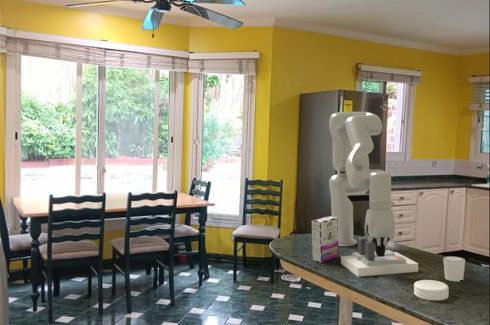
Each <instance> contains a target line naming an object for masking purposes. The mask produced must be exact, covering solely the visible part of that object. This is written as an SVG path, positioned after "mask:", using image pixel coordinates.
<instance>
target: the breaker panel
mask: <svg viewBox="0 0 490 325" xmlns="http://www.w3.org/2000/svg"><path fill="white" fill-rule="evenodd" d="M364 237H365V236H363V237H357V252H352V254H351V255H341V256H340V264H341V265H342V267H344V268H346V269H347V270H349V271H350V272H351V273H352V274H354V275H355V276H357V277H369V276H380V275H394V274H405V273H406V274H407V273H418V272H419V263H418V262H416V261H414V260H413V259H410V258H409V257H407V256H405V255H402V254H401V253H399V252H396V251H395V252H394V251H391V250H390V249H385V254H384V257H379V256H378V255H376V250H375V260H367V259H366V258H365V242H367V240H366V238H364Z"/></svg>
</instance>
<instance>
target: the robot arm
mask: <svg viewBox="0 0 490 325" xmlns="http://www.w3.org/2000/svg"><path fill="white" fill-rule="evenodd" d="M328 121H329V122H328V125H329V127H328V128H329V131H330V134H331V138H332V166H333V169H334V170H335V171H338V172H345V173H337V174H334V175H332V176H330V178H329V181H328V185H329V186H328V187H329V192H330V201H331V202H330V203H331V217H337V218H338V247H353V246H355V245H358V240H356V239H355V238H354V205H353V202H352V201H351V200H350V199H349V197H348V196H351V195H353V196H354V195H364V194H366V193H367V192H369V193H368V194H369V196H368V197H369V198H368V199H369V200H368V201H369V202H368V204H369V206H368V207H369V209H367V210H366V214H365V219H364V221H365V222H364V236H365V235H367V236H366V240H368V241H372V242H373V243H375V245H376V250H375V251H376V255H378V256H379V257H384V254H385V250H386V246H387V245H388V242H389V241H392V240H394V239H395V237H396V236H395V235H396V223H395V222H396V221H395V215H394V214H395V213H394V210H393V209H392V207H393V206H395V202H394V201H392V175H391V173H390V172H388V171H384V170H382V169H378V168H377V169H376V168H375V169H370V158H369V154H370V153H372V151H373V150H374V147H375V146H374V142H373V139H372V136H379V135H380V134H381V133H382V130H383V123H382V120H381V118H380V117H379V116H378V115H377V114H375V113H373V112H370V111H340V112H339V111H338V112H335V113H332V114H331V115H330V117H329V120H328Z"/></svg>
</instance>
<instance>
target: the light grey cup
mask: <svg viewBox="0 0 490 325" xmlns="http://www.w3.org/2000/svg"><path fill="white" fill-rule="evenodd" d="M442 259H443V268H444V269H443V271H444V278H445V280H446V281H447V280H448V281H449V282H450V281H451V282H461V281H460V280H464V273H465V265H466V259H465V258H463V257H459V256H452V255H451V256H444V257H443V258H442Z"/></svg>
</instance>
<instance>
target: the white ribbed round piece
mask: <svg viewBox="0 0 490 325" xmlns="http://www.w3.org/2000/svg"><path fill="white" fill-rule="evenodd" d="M413 290H414V291H413V293H414V294H413V295H415V296H416V297H417V298H418V299H423V300H427V301H433V302H434V301H437V302H438V301H445V300H448V298H449V297H450V296H449V295H450V294H449V292H450V291H449V285H447V283H444V282H442V281H438V280H433V279H422V280H417V281H415V282H414V283H413Z"/></svg>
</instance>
